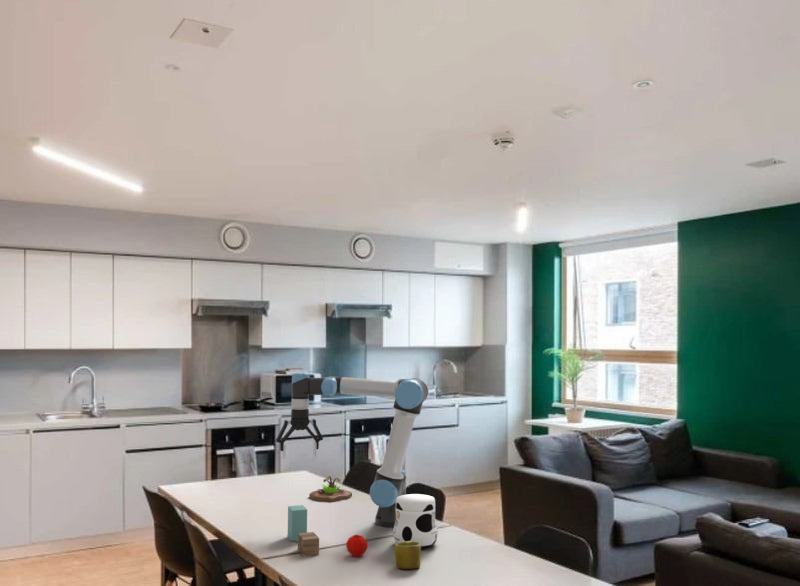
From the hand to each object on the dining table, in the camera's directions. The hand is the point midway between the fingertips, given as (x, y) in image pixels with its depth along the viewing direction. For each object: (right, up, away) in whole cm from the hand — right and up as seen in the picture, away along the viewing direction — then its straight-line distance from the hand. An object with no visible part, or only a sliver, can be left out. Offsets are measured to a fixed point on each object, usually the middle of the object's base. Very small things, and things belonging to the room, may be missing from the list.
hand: (299, 457), depth 305 cm
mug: (+47, -26, -55) cm, 76 cm away
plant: (+8, -33, +53) cm, 62 cm away
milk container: (+50, -27, -30) cm, 64 cm away
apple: (+28, -26, -44) cm, 58 cm away
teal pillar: (+2, -27, -22) cm, 35 cm away
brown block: (+9, -26, -40) cm, 48 cm away
